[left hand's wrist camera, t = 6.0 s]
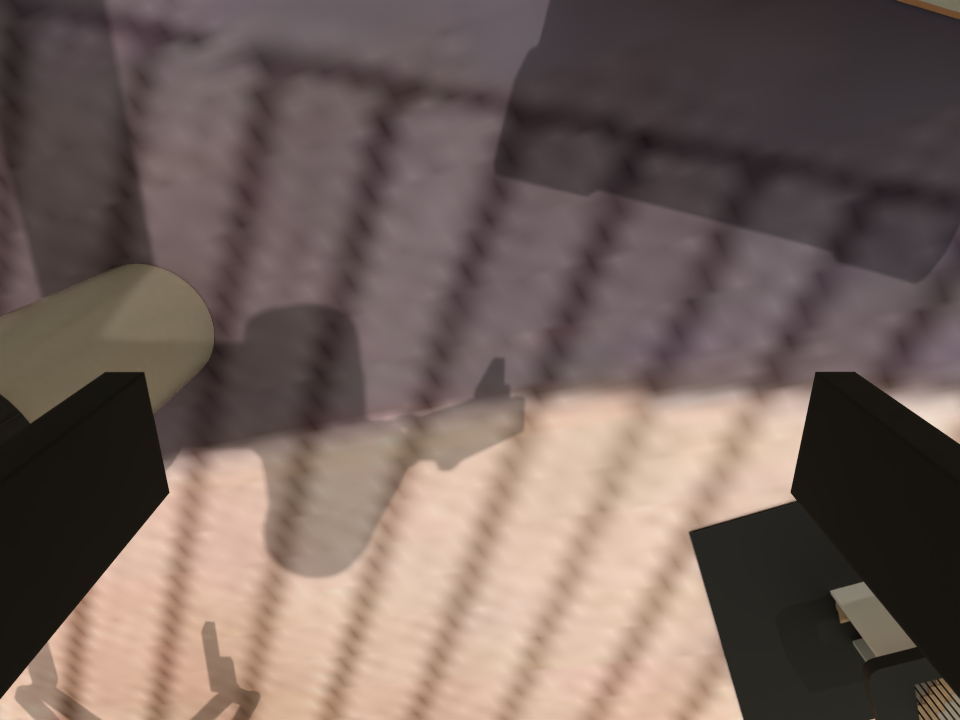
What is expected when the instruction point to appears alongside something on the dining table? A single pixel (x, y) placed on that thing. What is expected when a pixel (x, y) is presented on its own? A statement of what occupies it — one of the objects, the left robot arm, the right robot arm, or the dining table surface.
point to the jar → (105, 338)
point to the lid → (10, 419)
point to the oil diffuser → (810, 628)
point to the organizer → (938, 6)
